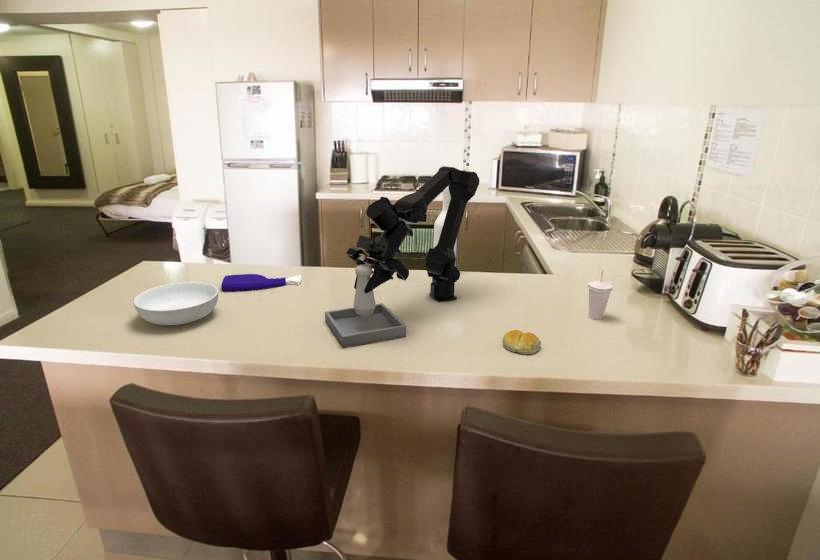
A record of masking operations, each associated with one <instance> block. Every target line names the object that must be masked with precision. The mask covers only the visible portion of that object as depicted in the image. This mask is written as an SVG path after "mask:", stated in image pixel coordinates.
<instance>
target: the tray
mask: <svg viewBox="0 0 820 560" xmlns="http://www.w3.org/2000/svg"><path fill="white" fill-rule="evenodd" d="M324 322H325V324H326V325H327V327H328V328H329V330H330V332H331V333H332V334H333V336H334V337H335V338H336V340H337V341H338V343H339V345H341V348H342V349H346V348H351V347H352V348H353V347H357V346H362V345H366V344H367V345H368V344H373V343H378V342H379V343H380V342H383V341H384V342H385V341H390V340H396V339H402V338H405V337H406V336H407V325H406V324H405V323H403V321H401V320H400V318H398V317H397V316H396V315H395V314H394V312H392V311H391V310H390V309H389V308H388V307H387V305H385V304H384V303H383V302H381V303H376V307H375V310H374V312H373V314H371V315H370V316H360V315H358V314H357V313H356V311H355V309H354V307H349V308H342V309H341V308H340V309H335V310H328V311H324Z"/></svg>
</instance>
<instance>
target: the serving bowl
mask: <svg viewBox="0 0 820 560" xmlns="http://www.w3.org/2000/svg"><path fill="white" fill-rule="evenodd" d="M218 300H219V289H218V287H216V285H213V284H211V283H207V282H200V281H182V282H181V281H180V282H179V281H178V282H172V283H166V284H160V285H157V286H154V287H151V288H149V289H146V290H144V291H142V292H140V293H138V294H137V296H135V297H134V298H133V303H132V304H133V306H134V308H135V310H136V313H137V314H138V315H139V316H140V318H142V319H143V320H145V321H147V322H148V323H151V324H154V325H159V326H177V325H179V326H180V325H185V324H189V323H192V322H196V321H198V320H201V319H203V318H204V317H206V316H208V315H209V314H211V312H213V310H214V309H215V307H216V305H218V304H217V303H218Z"/></svg>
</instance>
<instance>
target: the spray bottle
mask: <svg viewBox="0 0 820 560" xmlns="http://www.w3.org/2000/svg"><path fill="white" fill-rule="evenodd" d="M301 277H302V276H301V275H300V274H297V275H295V276H285V277H281V278H280V277H276V278H273V277H271V278H268V277H266V276H265V275H262V274H257V273H246V274H245V273H243V274H240V273H239V274H231V275H230V274H229V275H225V276H223V279H222V281H221V287H220V288H221V291H222V292H223V291H225V292H226V291H237V292H250V291H252V290H253V291H261V290H262V291H263V290H268V289H271V288H277V287H281V286H285V285H295V286H299V285H300V284H301V283H302V278H301ZM225 292H224V293H225ZM226 293H227V292H226Z"/></svg>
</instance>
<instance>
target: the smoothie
mask: <svg viewBox="0 0 820 560" xmlns="http://www.w3.org/2000/svg"><path fill="white" fill-rule="evenodd" d="M604 270H605V269H603V268H601V272H600V276H599V277H600V278H599V280H598V281H595V280H594V281H590V282H589V283H588V286H587V288H588V317H589V319H592V320H596V321H601V320H603V318H604V314H605V311H606V308H607V306H608V305H607V304H608V300H609V298H610V295H611V292H612V291H613V285H612V284H610V283H608V282H604V281H603V276H604Z"/></svg>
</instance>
